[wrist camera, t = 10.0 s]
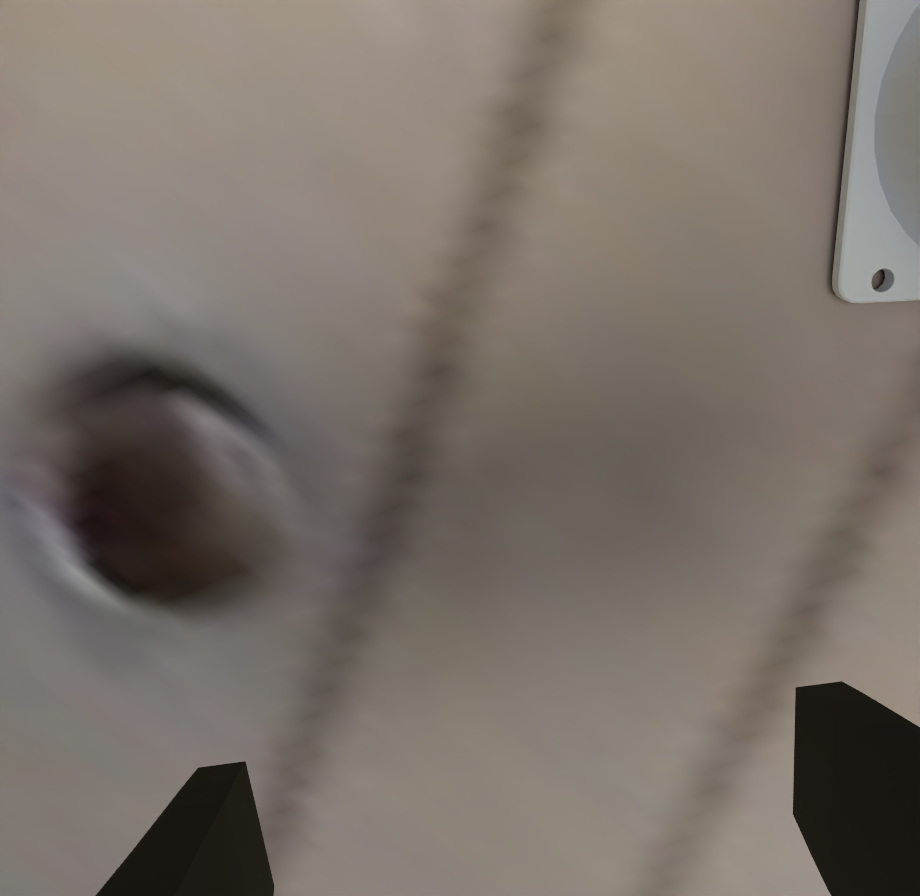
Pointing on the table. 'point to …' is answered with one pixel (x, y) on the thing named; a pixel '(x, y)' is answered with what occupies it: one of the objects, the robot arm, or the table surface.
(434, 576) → the table surface
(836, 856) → the robot arm
